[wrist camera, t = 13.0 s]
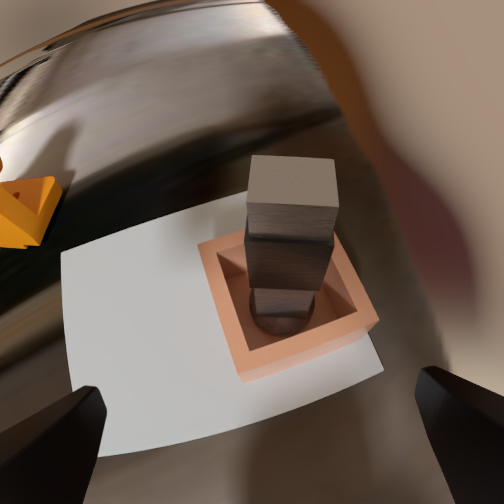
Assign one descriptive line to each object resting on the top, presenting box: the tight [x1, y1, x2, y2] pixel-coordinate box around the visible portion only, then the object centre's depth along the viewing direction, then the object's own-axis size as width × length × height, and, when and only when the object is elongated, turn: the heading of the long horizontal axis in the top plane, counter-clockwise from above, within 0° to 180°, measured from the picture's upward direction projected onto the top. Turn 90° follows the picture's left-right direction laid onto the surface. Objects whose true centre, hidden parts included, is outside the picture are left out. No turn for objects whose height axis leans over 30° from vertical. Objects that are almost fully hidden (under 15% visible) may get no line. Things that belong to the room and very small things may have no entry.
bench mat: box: [61, 191, 384, 457], centre depth 23 cm, size 18×22×1 cm
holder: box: [197, 229, 379, 384], centre depth 21 cm, size 8×8×4 cm
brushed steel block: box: [244, 155, 339, 337], centre depth 17 cm, size 4×4×12 cm
